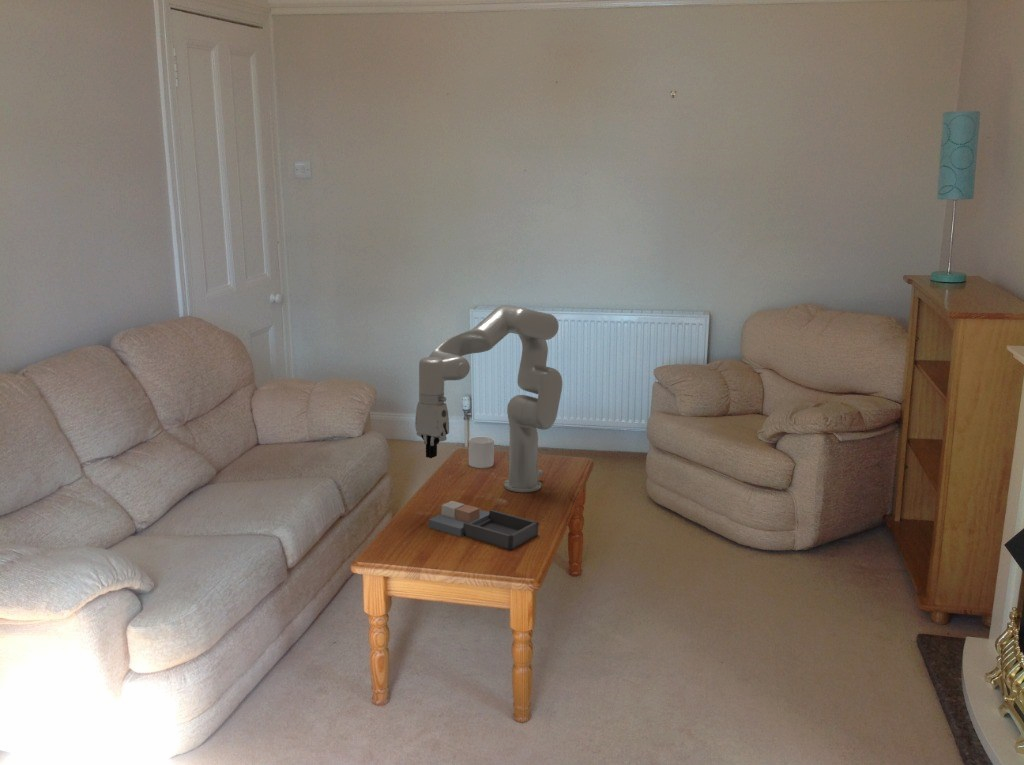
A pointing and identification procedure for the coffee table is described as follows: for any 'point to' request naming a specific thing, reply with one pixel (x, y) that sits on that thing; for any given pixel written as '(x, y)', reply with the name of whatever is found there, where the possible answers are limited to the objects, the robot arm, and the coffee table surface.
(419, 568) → the coffee table surface
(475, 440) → the mug
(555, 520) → the coffee table surface
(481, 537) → the box
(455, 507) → the tile
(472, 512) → the tile
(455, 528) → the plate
